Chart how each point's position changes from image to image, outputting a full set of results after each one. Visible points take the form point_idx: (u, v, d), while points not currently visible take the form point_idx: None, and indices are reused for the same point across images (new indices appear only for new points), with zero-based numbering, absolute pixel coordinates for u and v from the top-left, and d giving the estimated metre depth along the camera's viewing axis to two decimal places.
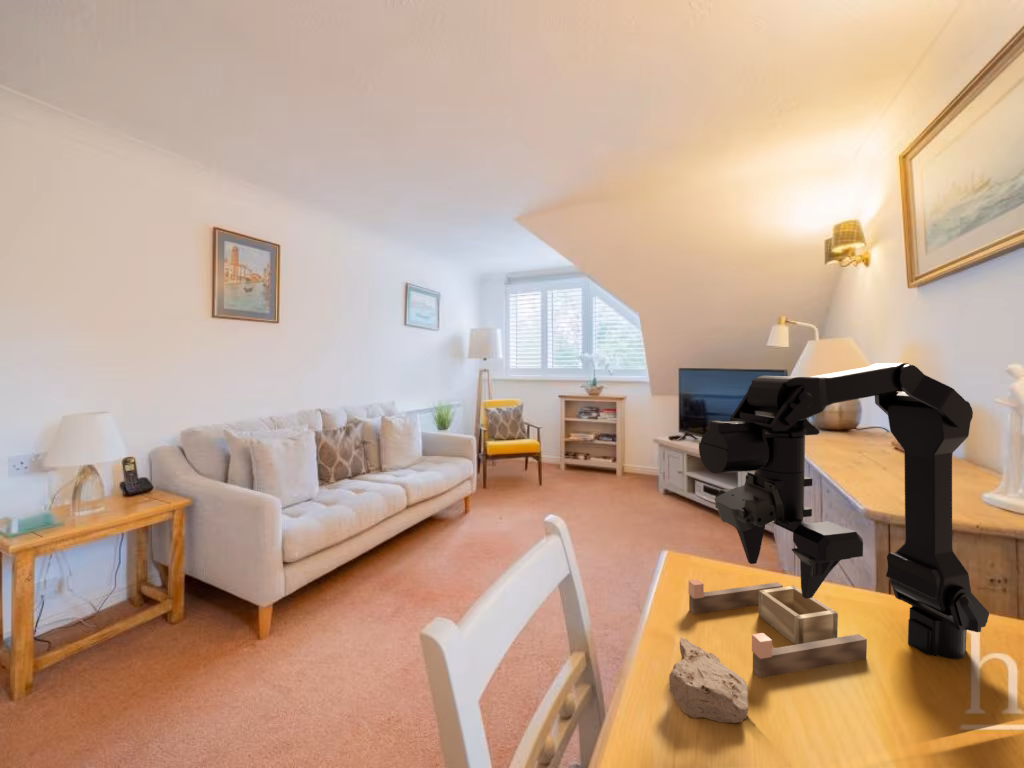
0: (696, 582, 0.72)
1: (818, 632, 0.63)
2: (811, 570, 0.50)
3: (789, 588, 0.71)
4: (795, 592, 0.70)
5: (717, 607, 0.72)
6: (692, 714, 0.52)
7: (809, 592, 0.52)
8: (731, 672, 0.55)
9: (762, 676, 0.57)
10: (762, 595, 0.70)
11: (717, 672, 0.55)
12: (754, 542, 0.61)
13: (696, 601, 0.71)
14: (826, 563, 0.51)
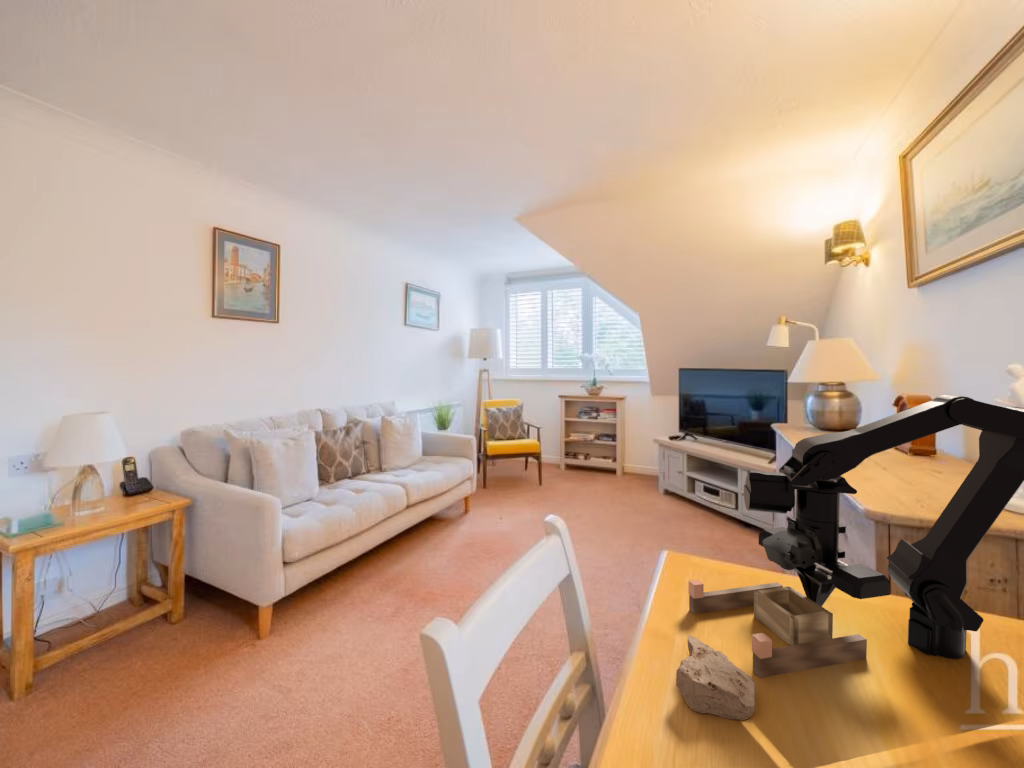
0: (696, 582, 0.72)
1: (813, 633, 0.63)
2: (819, 588, 0.66)
3: (784, 589, 0.71)
4: (790, 593, 0.70)
5: (717, 607, 0.72)
6: (699, 710, 0.52)
7: None
8: (739, 670, 0.55)
9: (762, 676, 0.57)
10: (757, 596, 0.69)
11: (725, 669, 0.55)
12: None
13: (696, 601, 0.71)
14: (831, 583, 0.66)
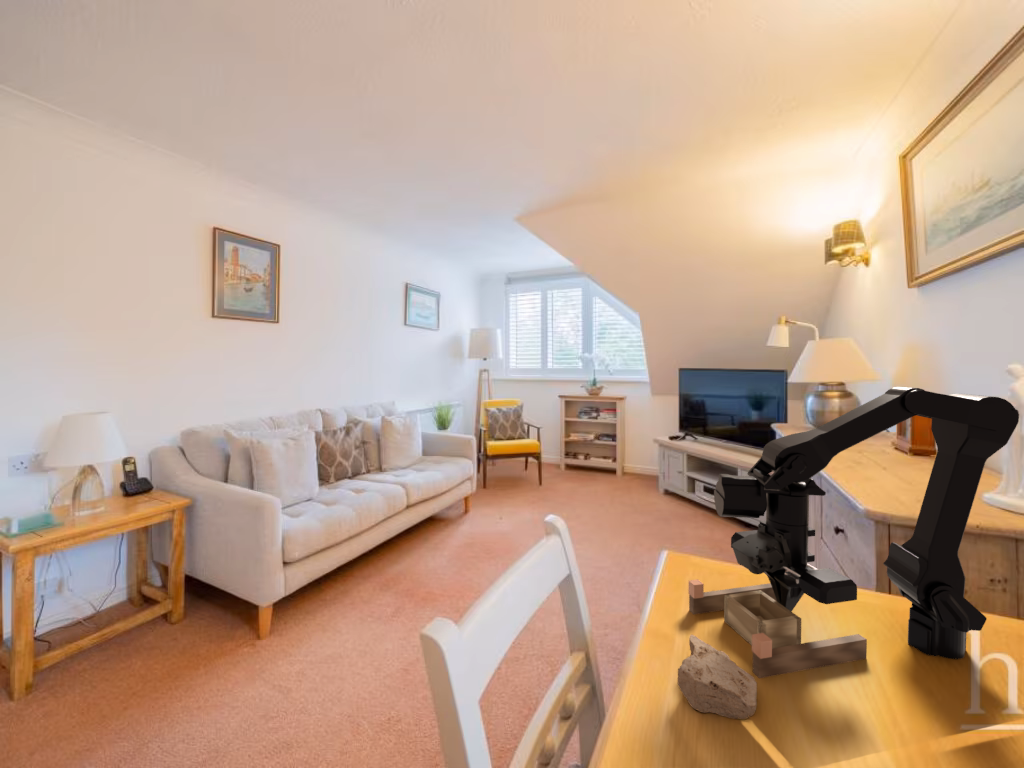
0: (696, 582, 0.72)
1: (781, 638, 0.62)
2: (789, 593, 0.65)
3: (755, 593, 0.70)
4: (761, 597, 0.69)
5: (717, 607, 0.72)
6: (700, 709, 0.52)
7: None
8: (740, 669, 0.55)
9: (762, 676, 0.57)
10: (727, 600, 0.68)
11: (726, 668, 0.55)
12: None
13: (696, 601, 0.71)
14: (800, 587, 0.65)
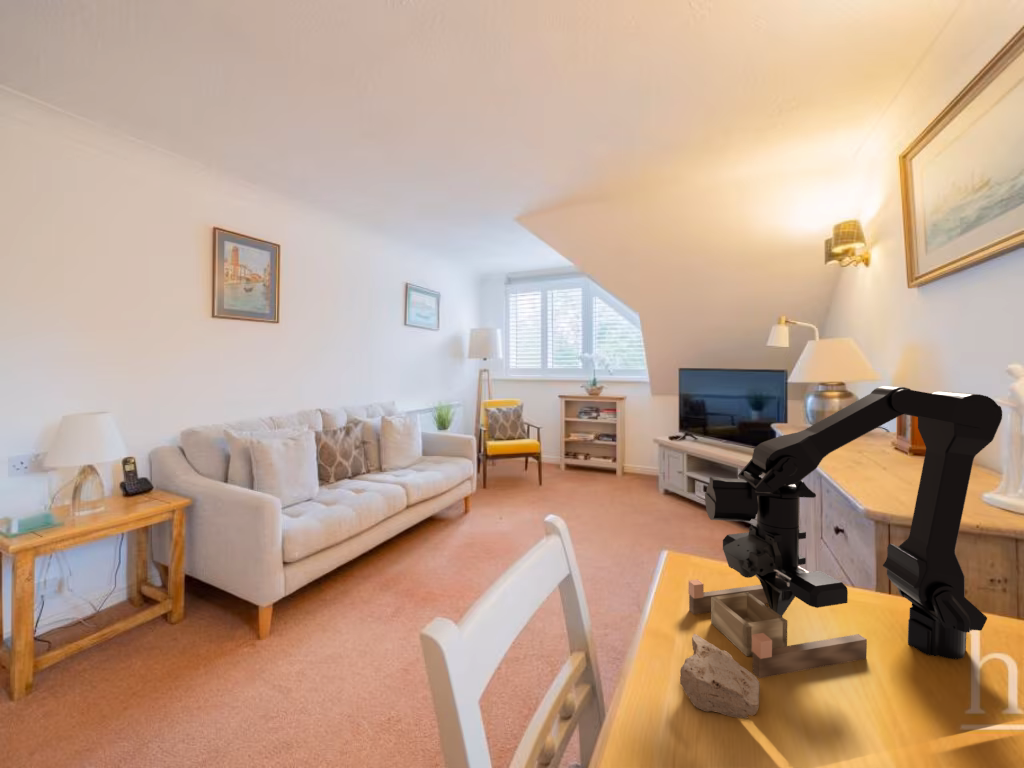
0: (696, 582, 0.72)
1: None
2: (780, 596, 0.64)
3: (742, 594, 0.69)
4: (748, 599, 0.69)
5: None
6: (702, 708, 0.52)
7: (779, 613, 0.66)
8: (743, 669, 0.55)
9: (762, 676, 0.57)
10: (714, 602, 0.68)
11: (729, 668, 0.55)
12: None
13: (696, 601, 0.71)
14: (792, 590, 0.65)
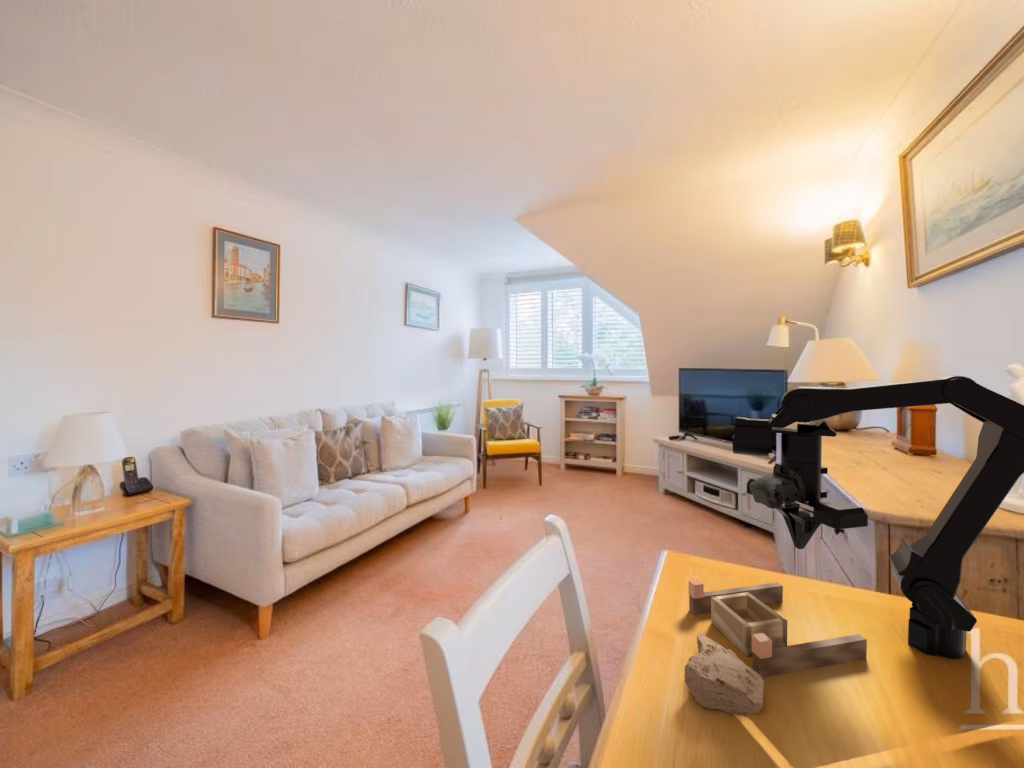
0: (696, 582, 0.72)
1: None
2: (803, 527, 0.69)
3: (742, 594, 0.69)
4: (748, 599, 0.69)
5: None
6: (706, 705, 0.53)
7: (801, 544, 0.71)
8: (748, 667, 0.56)
9: (762, 676, 0.57)
10: (714, 602, 0.68)
11: (733, 666, 0.55)
12: None
13: (696, 601, 0.71)
14: (814, 522, 0.70)
